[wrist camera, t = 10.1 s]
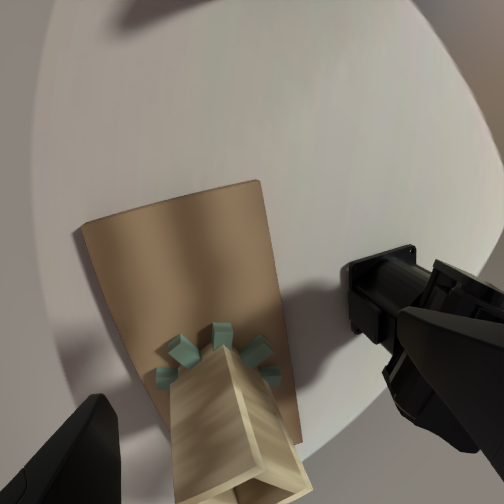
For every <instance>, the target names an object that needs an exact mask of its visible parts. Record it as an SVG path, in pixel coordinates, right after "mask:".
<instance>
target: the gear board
mask: <svg viewBox="0 0 504 504" xmlns="http://www.w3.org/2000/svg"><path fill="white" fill-rule="evenodd" d="M81 229H82V233H83V236H84V239H85V243H86V246H87V249H88V252H89V255H90V258H91V261H92V264H93V267H94V270H95V273H96V276H97V278H98V281H99V284H100V287H101V289H102V292H103V295H104V297H105V300H106V302H107V305H108V307H109V310H110V312H111V315H112V317H113V320H114V322H115V325H116V327H117V329H118V332H119V334H120V336H121V338H122V341H123V343H124V345H125V347H126V350H127V352H128V354H129V356H130V358H131V360H132V362H133V364H134V366H135V369H136V371H137V373H138V375H139V377H140V379H141V381H142V383H143V384H144V386H145V388H146V390H147V392H148V394H149V396H150V398H151V400H152V402H153V403H154V405H155V407H156V409H157V411H158V412H159V414H160V416H161V418H162V419H163V421H164V423H165V425H166V426H167V428H168V430H169V431H170V433H171V419H170V390H157V384H156V370H157V367H164V368H179V367H180V366H181V365H182V364H181V363H179V362H178V361H177V360H176V359H174V358H173V357H172V356H171V355H170V354H168V343H169V342H170V341H172V340H173V339H174V338H175V337H177V336H178V335H179V334H180V333H181V334H182V335H183V336H184V337H185V338H186V339H188V340H189V341H190V342H191V343H192V344H193V345H194V346H196V347H197V348H198V349H199V350H200V351H201V350H202V349H203V348H205V347H206V346H207V345H208V344H210V343H211V342H212V327H213V323H231V326H232V329H233V340H232V345H233V346H234V347H235V348H236V349H237V350H240V349H241V348H242V347H243V346H245V345H246V344H247V343H249V342H250V341H251V340H252V339H254V338H255V337H256V336H258V335H259V334H261V335H262V336H263V337H264V338H265V339H266V340H267V341H268V342H269V343H270V345H271V347H272V349H273V351H274V353H273V354H272V355H270V356H269V357H268V358H266V359H265V360H264V361H262V362H261V363H260V364H258V365H257V367H269V366H277V367H278V369H279V371H280V373H281V375H282V376H281V381H280V385H279V387H278V388H270V389H271V391H272V394H273V396H274V399H275V401H276V404H277V406H278V408H279V411H280V413H281V416H282V418H283V420H284V423H285V425H286V428H287V430H288V432H289V435H290V437H291V439H292V442H293V444H294V445H296V444H299V443H302V442H303V440H302V433H301V426H300V419H299V412H298V405H297V398H296V392H295V385H294V378H293V372H292V365H291V359H290V353H289V346H288V340H287V334H286V327H285V321H284V315H283V309H282V303H281V297H280V291H279V285H278V279H277V273H276V267H275V261H274V256H273V250H272V244H271V238H270V233H269V227H268V222H267V216H266V210H265V205H264V199H263V194H262V188H261V183H260V181H259V180H251V181H246V182H241V183H237V184H232V185H227V186H223V187H218V188H214V189H210V190H205V191H201V192H197V193H193V194H189V195H184V196H180V197H176V198H172V199H168V200H165V201H161V202H157V203H153V204H149V205H146V206H142V207H138V208H134V209H131V210H127V211H124V212H120V213H117V214H113V215H110V216H106V217H103V218H100V219H96V220H93V221H90V222H86V223H85V224H83V225H82V226H81Z"/></svg>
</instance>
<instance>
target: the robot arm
mask: <svg viewBox="0 0 504 504" xmlns="http://www.w3.org/2000/svg"><path fill="white" fill-rule="evenodd" d="M410 250H411V252H410ZM356 266H357V269H356V270H354V268H355V267H356ZM433 267H434V268H433V271H432V272H430V271H428V270H426V269H424V268H422V267H421V266H419V265H417V264H416V247H415V246H413V245H411V244H409V245H406V246H402V247H399V248H396V249H393V250H389V251H386V252H383V253H380V254H376V255H373V256H370V257H366V258H363V259H360V260H356V261H353V262H352V263H351V264H350V265H349V284H350V290H349V292H348V302H349V319H350V320H351V329H352V331H353V332H354V334H356V335H358V334H361V333H364V334H365V335H366V336H367V337H368V338H369V339H370V340H371V341H372V342H373V343H374V344H376V345H377V344H379V343H380V344H381V345H382V346H383V347H384V348H385V349H386V350H387V351H388V352H389V353H390V354H391V355H392V357H391V359H390V361H389V363H388V365H387V366H385V367H384V369H383V371H382V374H383V377H384V379H385V381H386V383H387V386H388V388H389V390H390V393H391V395H392V398H393V400H394V402H395V405H396V407H397V409H398V410H399V411H400V414H401V415H402V416H403V417H405V418H406V419H408V420H409V421H411V422H412V423H413V424H414V425H416V426H418V427H421V428H423V429H426V430H428V431H431V432H432V433H434V434H436V435H438V436H440V437H441V438H442V439H444V440H445V441H446V442H448V443H449V444H450V445H452V446H453V447H454V448H456V449H457V450H458V451H460V452H465V453H477V452H478V451H479V450H481V451H482V452H483V453H484V455H485V456H486V458H487V459H488V460H489V462H490V463H491V465H492V466H493V468H494V469H495V470H496V472H497V473H498V474H499V476H500V477H501V479H502V480H503V482H504V292H503V291H502V290H500V289H498V288H497V287H495V286H494V285H492V284H490V283H488V282H486V281H484V280H482V279H480V278H478V277H476V276H474V275H472V274H470V273H468V272H466V271H463V270H461V269H459V268H456V267H454V266H452V265H449V264H447V263H444V262H442V261H440V260H437V259H435V262H434V264H433ZM357 328H358V329H357ZM356 329H357V330H356ZM0 504H121V456H120V445H119V432H118V418H117V415H116V412H115V411H114V409H113V408H112V406H111V404H110V403H109V401H108V400H107V398H106V396H105V395H104V394H102V393H99V394H92V395H90V396H89V397H88V398H87V399H86V400H85V401H84V402H83V403H82V404H81V405H80V406H79V407H78V408H77V409H76V410H75V411H74V413H73V414H72V415H71V416H70V417H69V418H68V419H67V420H66V421H65V422H64V423H63V425H62V426H61V427H60V428H59V429H58V430H57V431H56V432H55V433H54V434H53V435H52V436H51V437H50V438H49V440H48V441H47V442H46V443H45V444H44V445H43V446H42V447H41V448H40V449H39V451H38V452H37V453H36V454H35V455H34V456H33V457H32V458H31V459H30V460H29V461H28V463H27V464H26V465H25V466H24V468H22V469H21V470H20V471H19V473H18V474H17V475H16V476H15V477H14V478H13V479H12V480H11V481H10V482H9V483H8V484H7V485H6V486H5V487H4V488H3V489H2V490H1V491H0Z"/></svg>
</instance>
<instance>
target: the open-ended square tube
mask: <svg viewBox="0 0 504 504" xmlns="http://www.w3.org/2000/svg"><path fill="white" fill-rule="evenodd" d="M232 340H233V329H232V326H231V323H213V327H212V342H211V343H210V344H208V345H207V346H206V347H205V348H203V349H202V350H201V351H200V350H199V349H198V348H197V347H196V346H194V345H193V344H192V343H191V342H190V341H189V340H188V339H186V338H185V337H184V336H183V335H182V334H181V333H180V334H179V335H178V336H177V337H175V338H174V339H173V340H172V341H170V342H169V343H168V354H170V355H171V356H172V357H173V358H174V359H176V360H177V361H178V362H179V363H181V364H182V365H181V366H180V367H179V368H164V367H157V370H156V384H157V390H170V419H171V449H172V468H173V483H174V496H175V504H288V503H290V502H292V501H294V500H296V499H298V498H299V497H301V496H303V495H305V494H307V493H309V492H311V491H312V490H313V487H312V485H311V483H310V481H309V478H308V476H307V474H306V472H305V469H304V467H303V465H302V463H301V460H300V458H299V456H298V453H297V451H296V449H295V446H294V444H293V442H292V439H291V437H290V435H289V432H288V430H287V428H286V425H285V423H284V420H283V418H282V416H281V413H280V411H279V408H278V406H277V404H276V401H275V399H274V396H273V394H272V391H271V389H270V388H278V387H279V385H280V381H281V376H282V375H281V373H280V371H279V369H278V367H277V366H269V367H257V365H258V364H260V363H261V362H262V361H264V360H265V359H266V358H268V357H269V356H270V355H272V354H273V353H274V351H273V349H272V347H271V345H270V343H269V342H268V341H267V340H266V339H265V338H264V337H263V336H262V335H261V334H259V335H258V336H256V337H255V338H254V339H252V340H251V341H250V342H249V343H247V344H246V345H245V346H243V347H242V348H241V349H240V350H237V349H236V348H235V347H234V346H233V345H232Z"/></svg>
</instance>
